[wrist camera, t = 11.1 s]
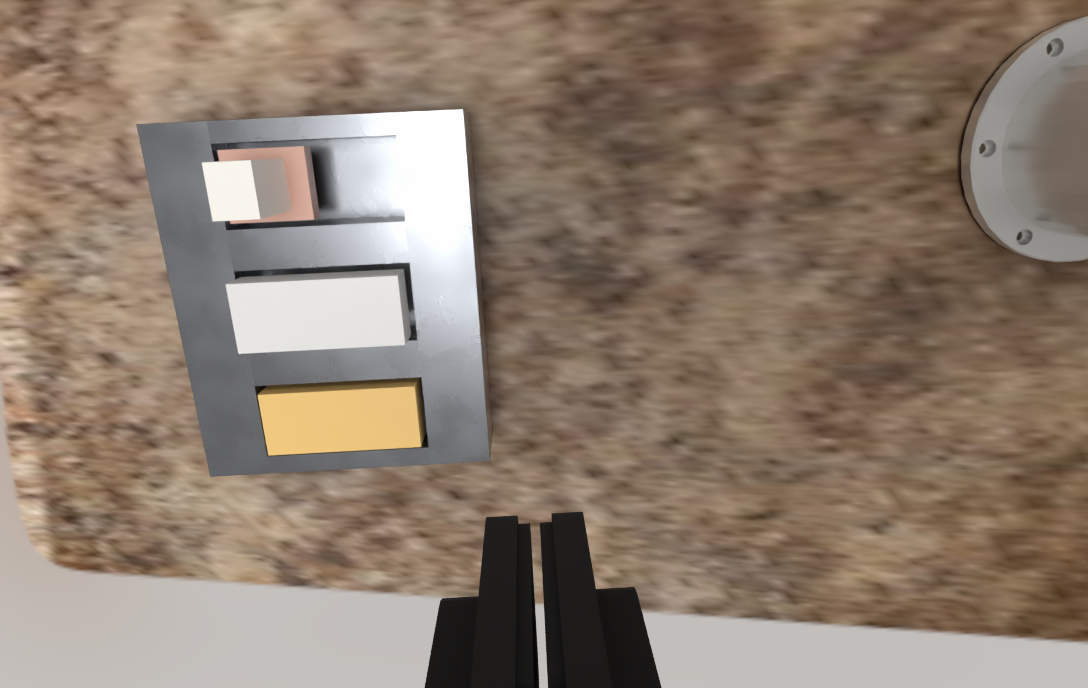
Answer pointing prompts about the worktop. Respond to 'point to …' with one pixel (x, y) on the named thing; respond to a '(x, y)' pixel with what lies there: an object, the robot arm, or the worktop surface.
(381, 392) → the amber button
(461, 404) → the control panel
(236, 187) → the slider lever
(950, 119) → the worktop surface
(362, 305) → the white button
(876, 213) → the worktop surface
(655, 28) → the worktop surface
